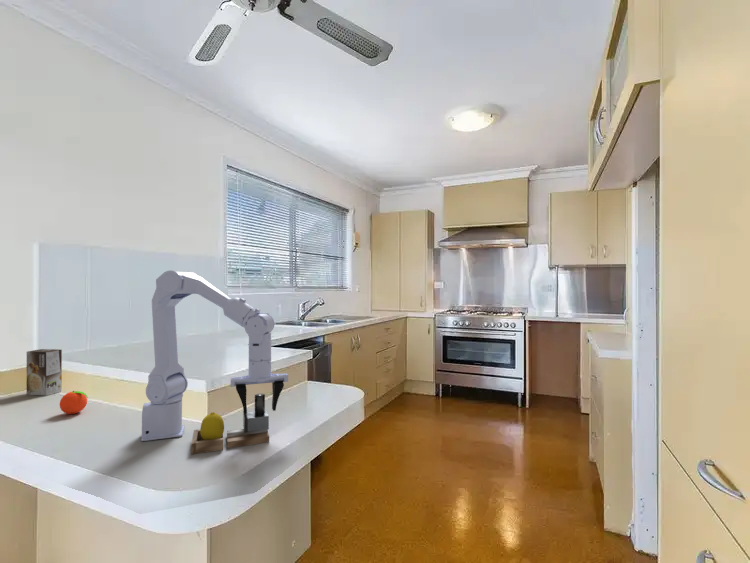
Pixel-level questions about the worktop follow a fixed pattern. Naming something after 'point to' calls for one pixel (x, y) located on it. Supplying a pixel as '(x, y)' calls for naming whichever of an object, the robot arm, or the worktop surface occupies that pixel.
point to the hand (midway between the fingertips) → (259, 411)
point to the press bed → (246, 437)
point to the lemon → (212, 427)
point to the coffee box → (44, 371)
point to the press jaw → (256, 416)
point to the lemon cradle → (205, 444)
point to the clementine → (73, 402)
